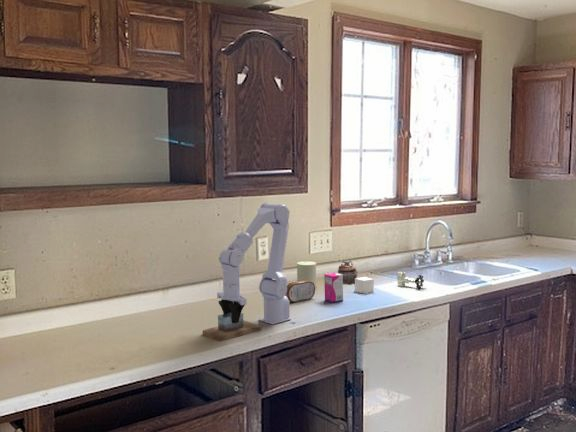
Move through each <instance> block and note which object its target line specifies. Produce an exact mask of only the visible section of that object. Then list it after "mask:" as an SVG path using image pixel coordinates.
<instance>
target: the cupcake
mask: <svg viewBox="0 0 576 432" xmlns="http://www.w3.org/2000/svg"><path fill="white" fill-rule="evenodd" d="M337 269H338V270H337V273H338V274H342V275H343V284H355V278H358V273H359V271H358V270H357V268H356V266H354V262H353V261H351V260H350V261H344V260H343V261H342V262H341V263H340V265H339V266H338V268H337Z"/></svg>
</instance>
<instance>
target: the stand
mask: <svg viewBox="0 0 576 432" xmlns="http://www.w3.org/2000/svg"><path fill="white" fill-rule="evenodd" d="M243 325H244V327H243V328H239V329H235V330H231V331H227V332H224V331H221V330H218V326H214V327H210V328H206V329H203V330H202V335H203V336H205V337H209V338H211V339H213V340H215V341H218V342H222V341H225V340H229V339H233V338H236V336H237V337H240V336H244V335H247V334H251V333H255V332H259V331H261V330H262V326H261V325H259V324H256V323H253V322H250V321H248V320H245V319H243ZM232 337H233V338H232ZM228 338H229V339H228Z"/></svg>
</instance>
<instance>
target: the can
mask: <svg viewBox="0 0 576 432" xmlns="http://www.w3.org/2000/svg"><path fill="white" fill-rule="evenodd" d="M303 280H309V281H311V282H313V283H314V285H315V289H316V288H317V262H315V261H310V260H309V261H307V260H306V261H298V262H296V281H303Z"/></svg>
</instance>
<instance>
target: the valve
mask: <svg viewBox="0 0 576 432" xmlns="http://www.w3.org/2000/svg"><path fill="white" fill-rule="evenodd" d="M423 278H424V275H422V274H418V276H416V278H410V276H406V272H405V271H398V272H397V277H396V281H397V286H398V287H401V288H403V287H406V284H409V283H411V284H415V285H416V287H415V288H417V289H419V290H421V289H422V287H423V286H424V284H423V283H424V282H425V280H424V279H423Z"/></svg>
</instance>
